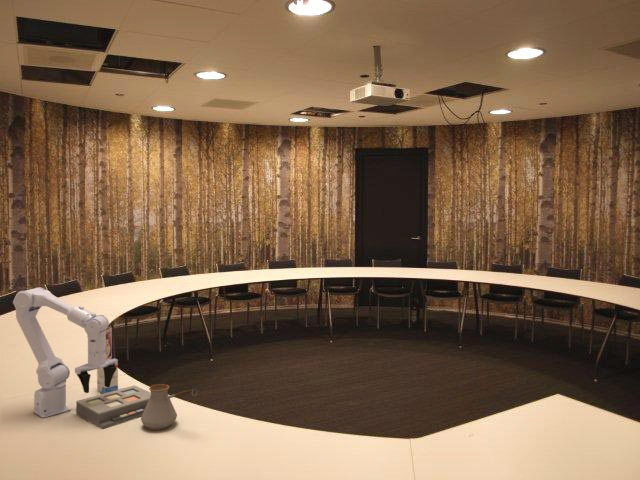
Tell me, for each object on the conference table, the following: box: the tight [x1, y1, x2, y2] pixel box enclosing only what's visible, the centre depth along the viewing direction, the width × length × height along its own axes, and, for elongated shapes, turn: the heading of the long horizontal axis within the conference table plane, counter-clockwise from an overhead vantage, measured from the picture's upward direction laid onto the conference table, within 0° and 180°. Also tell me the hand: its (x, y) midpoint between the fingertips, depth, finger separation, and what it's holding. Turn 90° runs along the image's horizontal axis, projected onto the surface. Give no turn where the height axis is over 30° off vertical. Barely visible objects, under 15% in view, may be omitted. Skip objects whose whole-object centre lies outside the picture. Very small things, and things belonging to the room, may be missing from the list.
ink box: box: [96, 358, 119, 394], centre depth 199 cm, size 8×5×15 cm, turn 47°
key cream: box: [106, 401, 121, 407], centre depth 176 cm, size 4×4×2 cm
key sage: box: [88, 399, 103, 405], centre depth 177 cm, size 4×4×2 cm
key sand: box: [106, 395, 121, 404], centre depth 182 cm, size 4×4×2 cm
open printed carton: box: [106, 327, 113, 359], centre depth 238 cm, size 11×7×15 cm, turn 179°
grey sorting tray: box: [75, 384, 151, 430], centre depth 180 cm, size 22×18×4 cm
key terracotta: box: [122, 396, 138, 404], centre depth 181 cm, size 4×4×2 cm
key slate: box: [121, 390, 136, 399], centre depth 187 cm, size 4×4×2 cm
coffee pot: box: [140, 383, 198, 431], centre depth 167 cm, size 21×12×15 cm, turn 62°
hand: (96, 389), depth 178 cm, fingers open, 7 cm apart
